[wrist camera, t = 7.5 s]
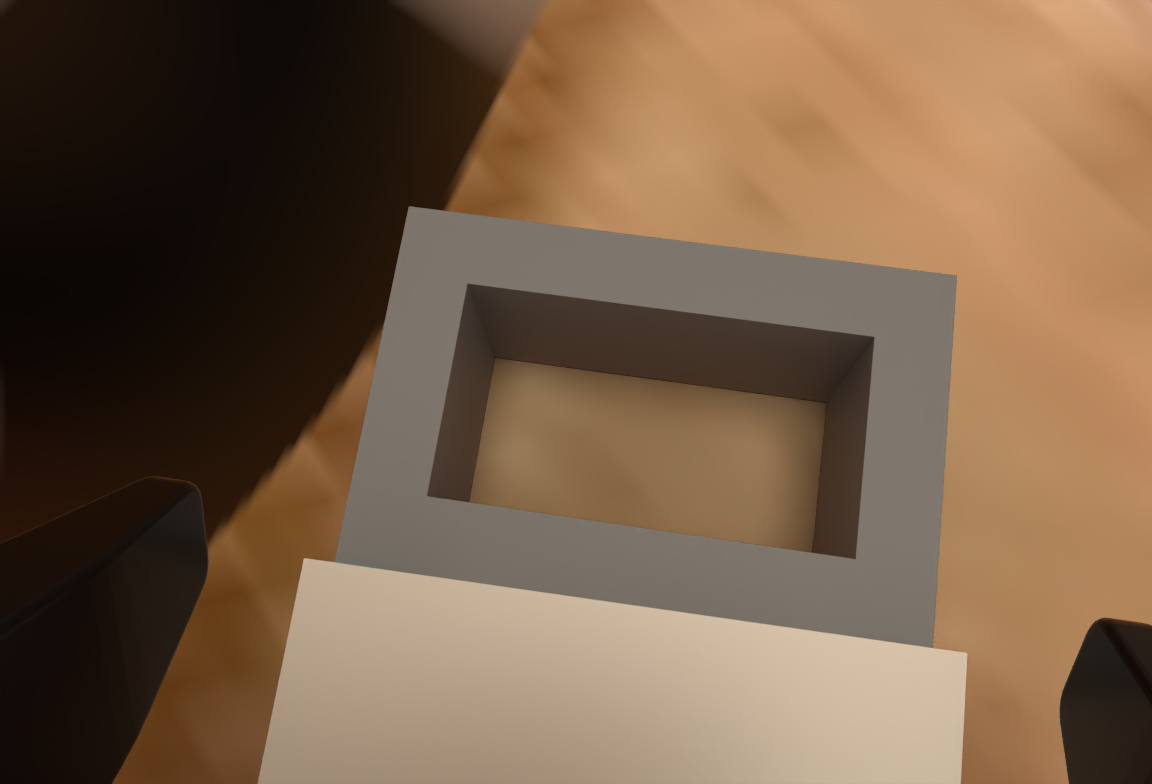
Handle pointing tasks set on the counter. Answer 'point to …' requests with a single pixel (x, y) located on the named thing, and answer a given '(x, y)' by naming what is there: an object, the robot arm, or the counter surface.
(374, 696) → the block
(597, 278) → the frame
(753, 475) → the counter surface
